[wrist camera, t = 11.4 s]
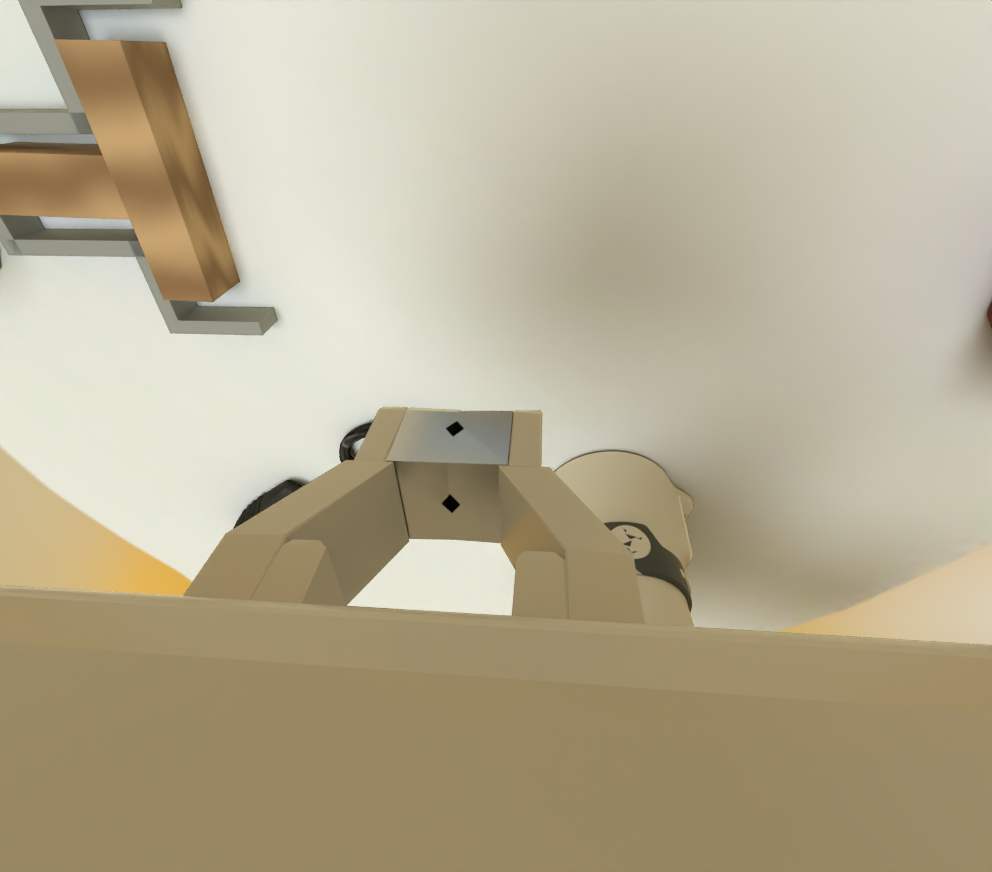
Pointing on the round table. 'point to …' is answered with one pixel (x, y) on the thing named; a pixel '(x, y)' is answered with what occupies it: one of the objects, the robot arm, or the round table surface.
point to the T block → (129, 167)
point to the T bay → (56, 16)
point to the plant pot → (990, 315)
